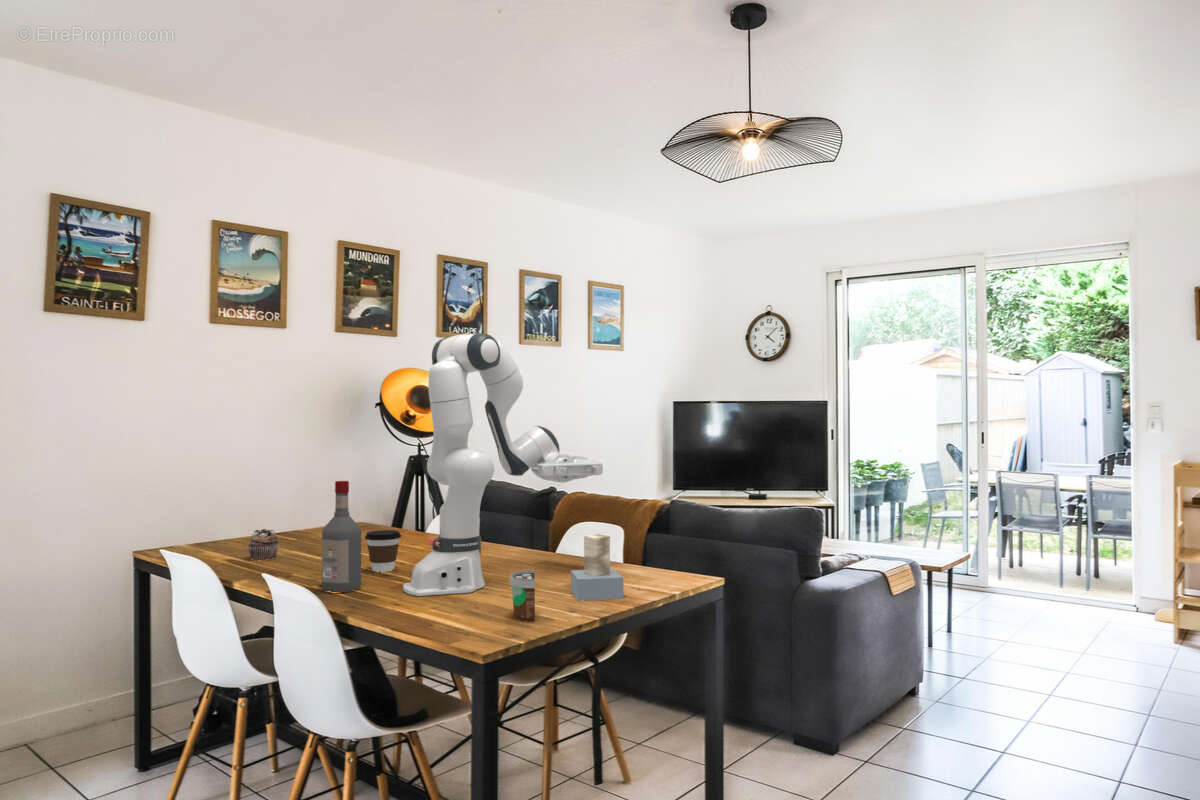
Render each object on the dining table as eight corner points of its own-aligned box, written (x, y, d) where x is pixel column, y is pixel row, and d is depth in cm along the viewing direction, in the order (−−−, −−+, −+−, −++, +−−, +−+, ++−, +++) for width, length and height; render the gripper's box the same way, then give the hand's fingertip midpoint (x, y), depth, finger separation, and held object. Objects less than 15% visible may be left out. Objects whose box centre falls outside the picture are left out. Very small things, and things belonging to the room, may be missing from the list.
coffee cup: (385, 566, 250) (385, 528, 250) (408, 570, 243) (408, 531, 244) (357, 572, 241) (357, 533, 241) (380, 576, 234) (380, 536, 235)
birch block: (594, 576, 205) (594, 538, 205) (584, 572, 210) (584, 535, 210) (609, 574, 208) (609, 536, 208) (599, 570, 212) (599, 534, 212)
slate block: (578, 602, 201) (578, 579, 202) (570, 592, 213) (570, 570, 213) (623, 600, 204) (623, 577, 204) (613, 590, 216) (613, 568, 216)
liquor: (343, 594, 210) (344, 483, 211) (316, 591, 214) (317, 482, 214) (365, 587, 219) (366, 480, 219) (339, 585, 222) (339, 479, 223)
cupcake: (284, 556, 268) (284, 527, 268) (267, 562, 258) (267, 531, 258) (259, 556, 269) (259, 527, 270) (241, 561, 260) (241, 531, 260)
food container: (509, 610, 192) (509, 569, 193) (534, 609, 193) (534, 569, 193) (508, 623, 180) (508, 579, 180) (534, 622, 181) (534, 579, 181)
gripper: (530, 458, 236) (548, 460, 224) (590, 456, 245) (611, 458, 233) (530, 479, 236) (548, 482, 223) (590, 476, 245) (611, 480, 233)
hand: (581, 470), depth 228 cm, fingers open, 8 cm apart
